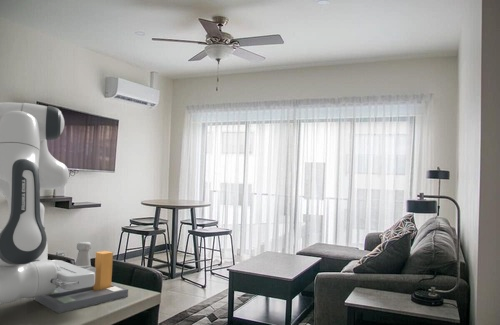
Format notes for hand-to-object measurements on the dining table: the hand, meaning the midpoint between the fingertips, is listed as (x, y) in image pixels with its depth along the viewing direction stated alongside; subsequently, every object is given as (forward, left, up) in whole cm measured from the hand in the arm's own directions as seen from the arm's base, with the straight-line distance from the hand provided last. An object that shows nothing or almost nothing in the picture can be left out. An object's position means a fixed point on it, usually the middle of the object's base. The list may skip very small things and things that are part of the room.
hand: (93, 269), depth 110 cm
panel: (0, -3, -8) cm, 8 cm away
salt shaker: (-14, +4, -8) cm, 17 cm away
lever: (0, +3, -7) cm, 7 cm away
